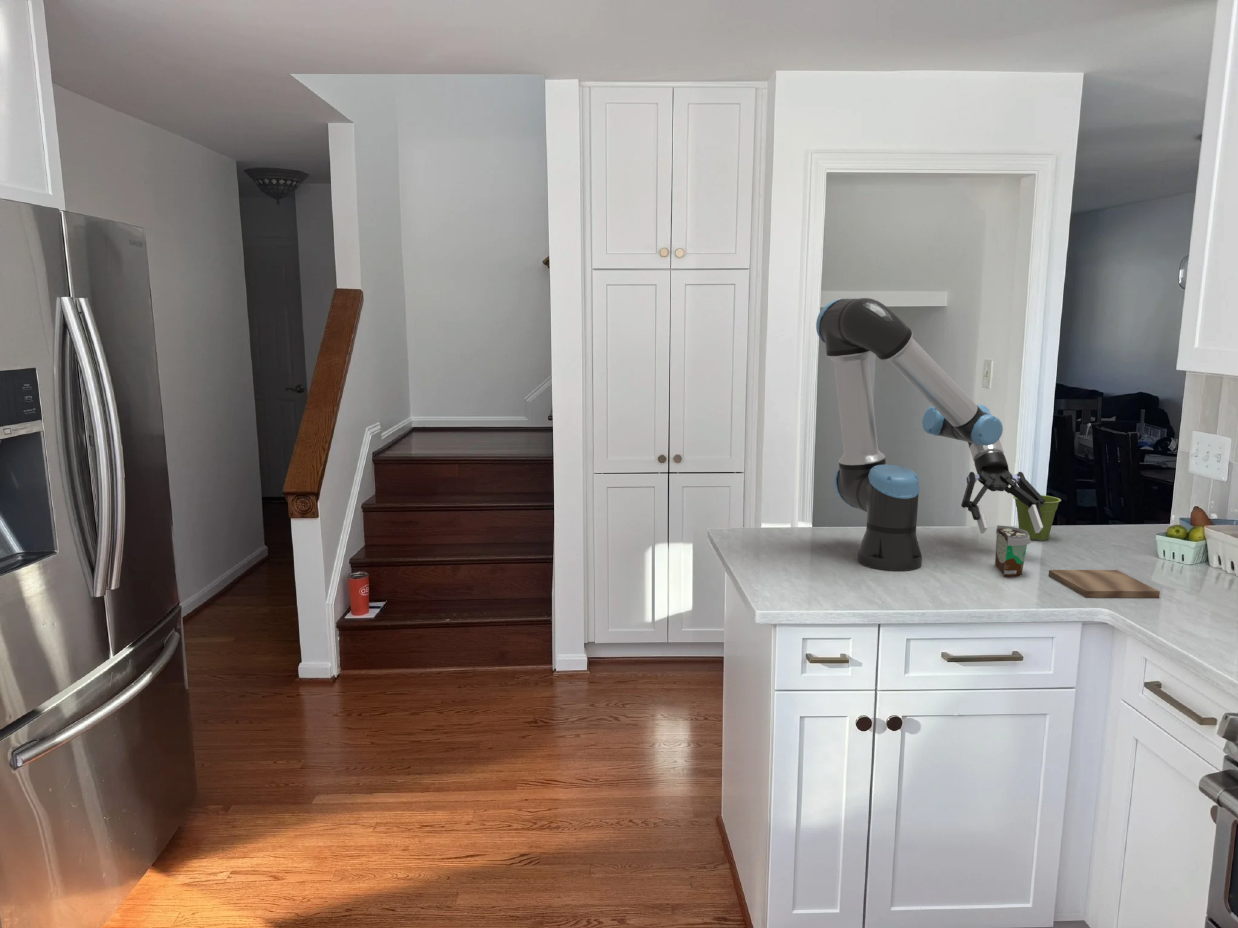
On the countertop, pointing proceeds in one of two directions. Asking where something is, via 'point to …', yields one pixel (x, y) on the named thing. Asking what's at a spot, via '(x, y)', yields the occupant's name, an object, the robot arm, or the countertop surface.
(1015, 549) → the food container
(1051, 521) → the plant pot
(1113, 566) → the countertop surface
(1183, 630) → the countertop surface
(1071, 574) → the walnut board
